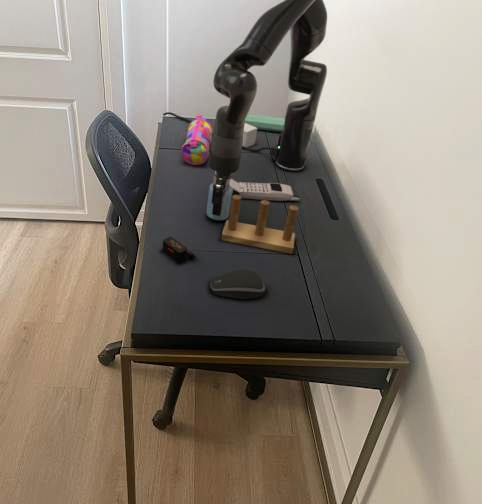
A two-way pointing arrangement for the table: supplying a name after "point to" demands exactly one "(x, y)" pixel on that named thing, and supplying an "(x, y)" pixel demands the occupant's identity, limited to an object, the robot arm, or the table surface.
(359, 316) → the table surface
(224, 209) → the cup
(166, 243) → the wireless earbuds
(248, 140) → the white cube
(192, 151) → the pencil case
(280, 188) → the mobile phone
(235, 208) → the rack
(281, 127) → the teal long bar
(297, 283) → the table surface
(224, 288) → the computer mouse
